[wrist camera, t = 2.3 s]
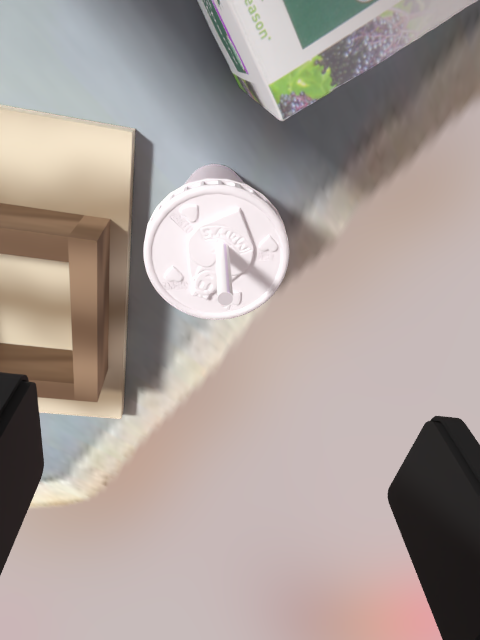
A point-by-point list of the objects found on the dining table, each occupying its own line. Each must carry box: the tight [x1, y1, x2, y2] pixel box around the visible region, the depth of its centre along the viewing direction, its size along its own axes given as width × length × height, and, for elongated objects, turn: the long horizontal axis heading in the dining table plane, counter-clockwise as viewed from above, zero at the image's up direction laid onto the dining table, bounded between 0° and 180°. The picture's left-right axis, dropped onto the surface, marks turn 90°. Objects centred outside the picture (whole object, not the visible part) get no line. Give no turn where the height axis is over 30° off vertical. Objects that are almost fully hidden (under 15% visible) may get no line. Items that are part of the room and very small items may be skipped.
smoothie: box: [143, 164, 289, 320], centre depth 20 cm, size 6×6×14 cm
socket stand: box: [0, 105, 135, 419], centre depth 27 cm, size 22×14×5 cm, turn 170°
